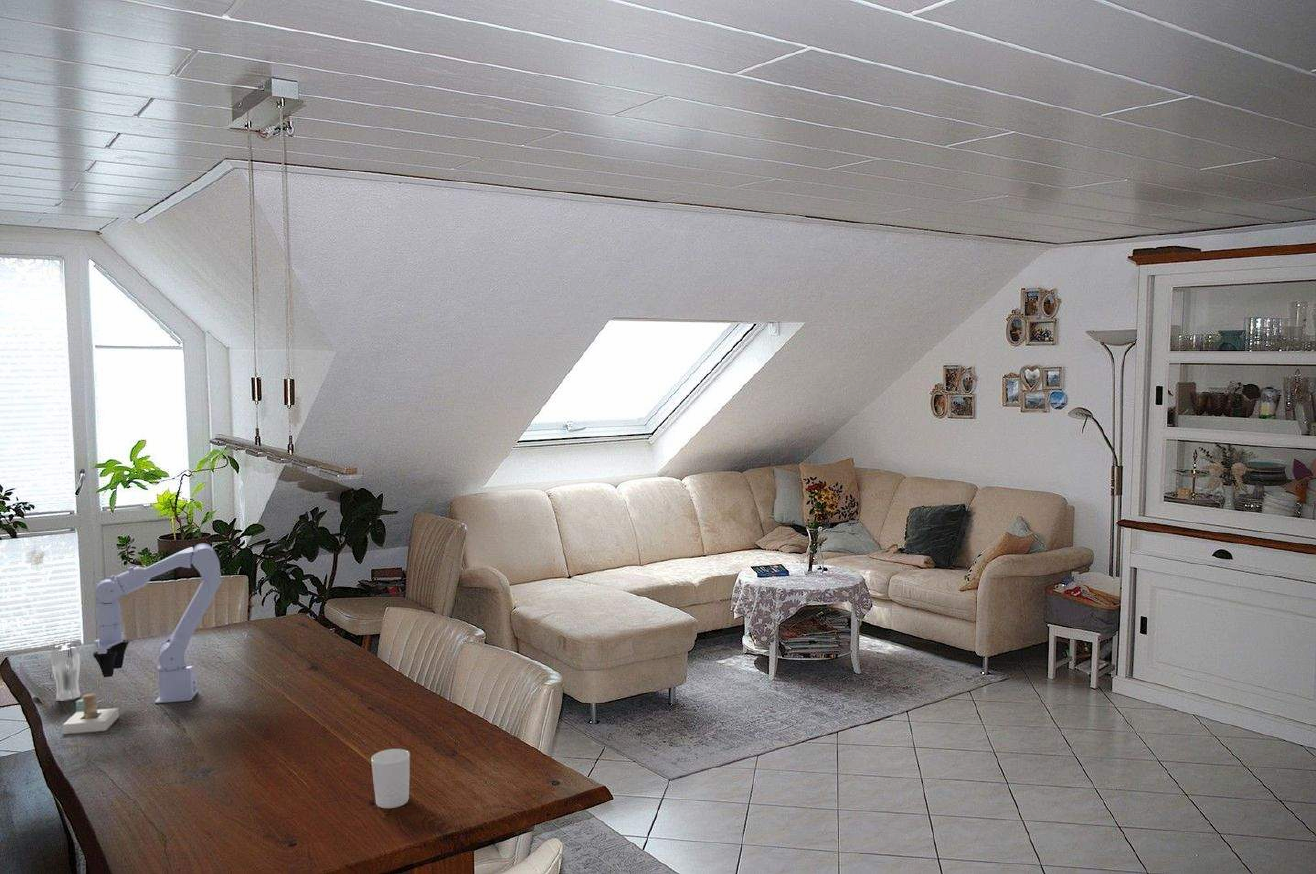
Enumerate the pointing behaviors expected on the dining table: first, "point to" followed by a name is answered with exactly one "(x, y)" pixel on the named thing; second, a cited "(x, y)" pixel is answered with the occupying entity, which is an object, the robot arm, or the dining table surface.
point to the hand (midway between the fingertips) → (112, 672)
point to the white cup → (391, 777)
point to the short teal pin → (79, 705)
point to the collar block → (91, 721)
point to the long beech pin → (90, 706)
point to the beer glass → (66, 671)
